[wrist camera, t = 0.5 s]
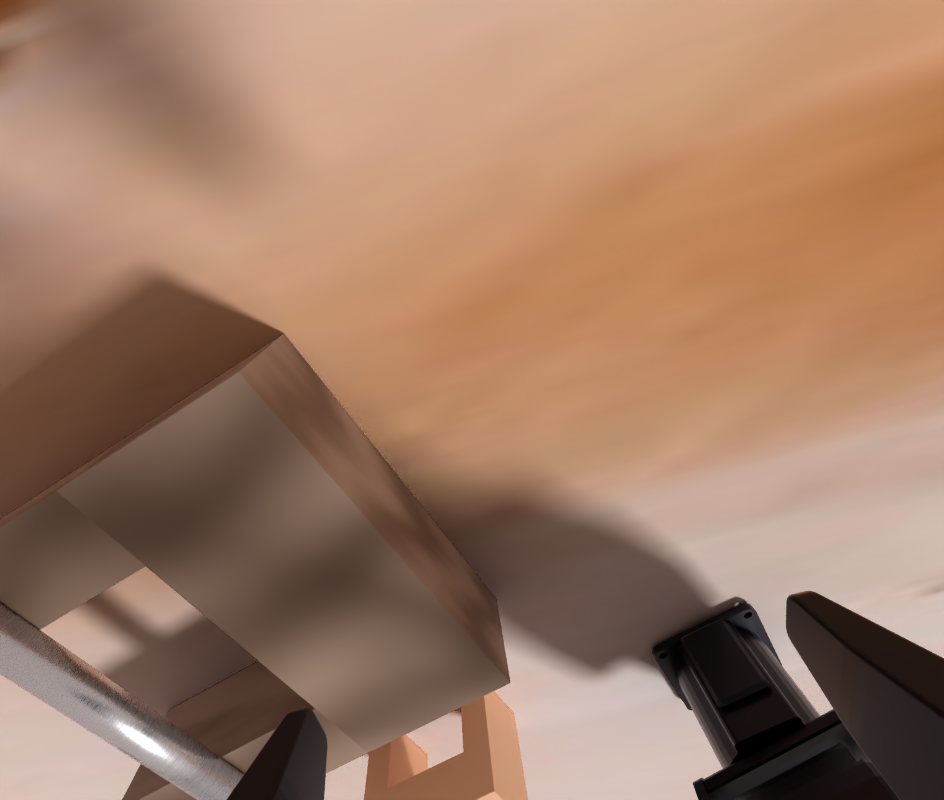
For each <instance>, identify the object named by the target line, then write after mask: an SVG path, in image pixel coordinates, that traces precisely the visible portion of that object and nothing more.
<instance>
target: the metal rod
mask: <svg viewBox="0 0 944 800" xmlns="http://www.w3.org/2000/svg"><path fill="white" fill-rule="evenodd" d="M0 674H1V675H2V676H4V677H5V678H7V679H8V680H10V681H12V682H13V683H15V684H16V685H18V686H19V687H21V688H23V689H24V690H26V691H27V692H29V693H30V694H32V695H34V696H35V697H37V698H38V699H40V700H41V701H43V702H44V703H46V704H48V705H49V706H51V707H52V708H54V709H55V710H57V711H59V712H60V713H62V714H63V715H65V716H66V717H68V718H70V719H71V720H73V721H74V722H76V723H77V724H79V725H81V726H82V727H84V728H85V729H87V730H88V731H90V732H92V733H93V734H95V735H96V736H98V737H99V738H101V739H102V740H104V741H106V742H107V743H109V744H110V745H112V746H113V747H115V748H117V749H118V750H120V751H121V752H123V753H124V754H126V755H128V756H129V757H131V758H132V759H134V760H135V761H137V762H139V763H140V764H142V765H143V766H145V767H146V768H148V769H149V770H151V771H153V772H154V773H156V774H157V775H159V776H160V777H162V778H164V779H165V780H167V781H168V782H170V783H171V784H173V785H175V786H176V787H178V788H179V789H181V790H182V791H184V792H186V793H187V794H189V795H190V796H192V797H193V798H195V799H196V800H226V799H227V798H228V796H229V795H230V794H231V792H232V791H233V789H234V788H235V786H236V785H237V784H238V782H239V781H240V779H241V778H242V776H243V775H244V773H243V772H241V771H240V770H238V769H237V768H235V767H234V766H233V765H231V764H230V763H228V762H227V761H225V760H224V759H223V758H221V757H220V756H219V755H217V754H216V753H214V752H213V751H211V750H210V749H209V748H207V747H206V746H204V745H203V744H201V743H200V742H199V741H197V740H196V739H194V738H193V737H192V736H190V735H189V734H187V733H186V732H184V731H183V730H182V729H180V728H179V727H177V726H176V725H174V724H173V723H172V722H170V721H169V720H167V719H166V718H164V717H163V716H162V715H160V714H159V713H157V712H156V711H154V710H153V709H152V708H150V707H149V706H147V705H146V704H144V703H143V702H142V701H140V700H139V699H137V698H136V697H134V696H133V695H132V694H130V693H129V692H127V691H126V690H125V689H123V688H122V687H120V686H119V685H117V684H116V683H115V682H113V681H112V680H110V679H109V678H107V677H106V676H105V675H103V674H102V673H100V672H99V671H97V670H96V669H95V668H93V667H92V666H90V665H89V664H87V663H86V662H85V661H83V660H82V659H80V658H79V657H77V656H76V655H75V654H73V653H72V652H70V651H69V650H67V649H66V648H65V647H63V646H62V645H60V644H59V643H58V642H56V641H55V640H53V639H52V638H50V637H49V636H48V635H46V634H45V633H43V632H42V631H40V630H39V629H37V628H36V627H34V626H33V625H31V624H30V623H29V622H27V621H26V620H24V619H23V618H21V617H20V616H19V615H17V614H16V613H14V612H13V611H12V610H10V609H9V608H7V607H6V606H4V605H3V604H2V603H0Z"/></svg>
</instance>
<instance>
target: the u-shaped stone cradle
mask: <svg viewBox="0 0 944 800" xmlns="http://www.w3.org/2000/svg"><path fill="white" fill-rule="evenodd" d="M145 566H146V567H147V568H149V569H150V570H151V571H152V572H153V573H155V574H156V575H157V576H158V577H159V578H160V579H162V580H163V581H164V582H165V583H166V584H168V585H169V586H170V587H171V588H172V589H174V590H175V591H176V592H177V593H178V594H180V595H181V596H182V597H183V598H184V599H185V600H187V601H188V602H189V603H190V604H191V605H193V606H194V607H195V608H196V609H197V610H199V611H200V612H201V613H202V614H203V615H204V616H206V617H207V618H208V619H209V620H210V621H212V622H213V623H214V624H215V625H216V626H218V627H219V628H220V629H221V630H222V631H224V632H225V633H226V634H227V635H228V636H229V637H231V638H232V639H233V640H234V641H235V642H237V643H238V644H239V645H240V646H241V647H243V648H244V649H245V650H246V651H247V652H248V653H250V654H251V655H252V656H253V657H254V658H256V659H257V660H258V662H256V663H254V664H253V665H251V666H249V667H247V668H245V669H243V670H242V671H240V672H238V673H236V674H234V675H232V676H231V677H229V678H227V679H225V680H223V681H221V682H220V683H218V684H216V685H214V686H212V687H210V688H208V689H207V690H205V691H203V692H201V693H199V694H197V695H196V696H194V697H192V698H190V699H188V700H186V701H185V702H183V703H181V704H179V705H177V706H175V707H174V708H172V709H170V710H169V711H168V713H167V715H166V717H165V718H166V719H167V720H169V721H170V722H172V723H173V724H174V725H176V726H177V727H179V728H180V729H182V730H183V731H184V732H186V733H187V734H189V735H190V736H192V737H193V738H194V739H196V740H197V741H199V742H200V743H201V744H203V745H204V746H206V747H207V748H209V749H210V750H211V751H213V752H214V753H216V754H217V755H219V756H220V757H221V758H223V759H224V760H225V761H227V762H228V763H230V764H231V765H233V766H234V767H235V768H237V769H238V770H240V771H241V772H243V773H244V774H245V772H246V771H247V769H248V768H249V767H250V765H251V764H252V762H253V761H254V759H255V758H256V757H257V755H258V754H259V752H260V751H261V749H262V748H263V747H264V745H265V744H266V742H267V741H268V739H269V738H270V737H271V735H272V734H273V732H274V731H275V729H276V728H277V727H278V725H279V724H280V722H281V721H282V719H283V718H284V717H285V716H286V715H287V714H288V713H289V712H291V711H295V710H299V709H304V708H310V709H312V710H313V712H314V714H315V715H316V717H317V719H318V721H319V723H320V725H321V726H322V728H323V730H324V732H325V734H326V737H327V745H328V749H327V763H326V773H328V772H330V771H332V770H334V769H336V768H338V767H340V766H342V765H344V764H346V763H348V762H350V761H352V760H354V759H356V758H358V757H360V756H362V755H364V754H366V753H368V752H371V751H373V750H375V749H377V748H379V747H381V746H383V745H385V744H387V743H389V742H391V741H393V740H395V739H397V738H399V737H401V736H403V735H405V734H407V733H409V732H411V731H413V730H415V729H417V728H419V727H421V726H423V725H425V724H427V723H430V722H432V721H434V720H436V719H438V718H440V717H442V716H444V715H446V714H448V713H450V712H452V711H454V710H456V709H458V708H460V707H462V706H464V705H466V704H468V703H470V702H472V701H474V700H476V699H478V698H480V697H482V696H484V695H486V694H489V693H491V692H493V691H495V690H497V689H499V688H501V687H503V686H505V685H507V684H509V683H510V677H509V671H508V665H507V659H506V653H505V647H504V641H503V635H502V629H501V623H500V618H499V612H498V606H497V600H496V598H495V597H494V596H493V594H492V593H491V592H490V591H489V589H488V588H487V587H486V586H485V584H484V583H483V582H482V581H481V579H480V578H479V577H478V576H477V574H476V573H475V572H474V571H473V569H472V568H471V567H470V566H469V564H468V563H467V562H466V561H465V559H464V558H463V557H462V556H461V554H460V553H459V552H458V551H457V549H456V548H455V547H454V546H453V544H452V543H451V542H450V541H449V539H448V538H447V537H446V536H445V534H444V533H443V532H442V531H441V529H440V528H439V527H438V526H437V524H436V523H435V522H434V521H433V519H432V518H431V517H430V516H429V514H428V513H427V512H426V511H425V509H424V508H423V507H422V506H421V504H420V503H419V502H418V501H417V499H416V498H415V497H414V496H413V494H412V493H411V492H410V491H409V489H408V488H407V487H406V486H405V484H404V483H403V482H402V481H401V479H400V478H399V477H398V476H397V474H396V473H395V472H394V471H393V469H392V468H391V467H390V466H389V464H388V463H387V462H386V461H385V459H384V458H383V457H382V456H381V454H380V453H379V452H378V451H377V449H376V448H375V447H374V446H373V444H372V443H371V442H370V441H369V439H368V438H367V437H366V436H365V434H364V433H363V432H362V431H361V429H360V428H359V427H358V426H357V424H356V423H355V422H354V421H353V419H352V418H351V417H350V416H349V414H348V413H347V412H346V411H345V409H344V408H343V407H342V406H341V404H340V403H339V402H338V401H337V399H336V398H335V397H334V396H333V394H332V393H331V392H330V391H329V389H328V388H327V387H326V386H325V384H324V383H323V382H322V381H321V379H320V378H319V377H318V376H317V374H316V373H315V372H314V371H313V369H312V368H311V367H310V366H309V364H308V363H307V362H306V361H305V359H304V358H303V357H302V356H301V354H300V353H299V352H298V351H297V349H296V348H295V347H294V346H293V344H292V343H291V342H290V341H289V339H288V338H287V337H286V336H285V334H282V335H281V336H279V337H278V338H276V339H275V340H273V341H272V342H270V343H269V344H267V345H266V346H264V347H263V348H261V349H259V350H258V351H256V352H255V353H253V354H252V355H250V356H249V357H247V358H246V359H244V360H243V361H241V362H240V363H238V364H237V365H235V366H234V367H232V368H230V369H229V370H227V371H226V372H224V373H223V374H221V375H220V376H218V377H217V378H215V379H214V380H212V381H211V382H209V383H208V384H206V385H205V386H203V387H201V388H200V389H198V390H197V391H195V392H194V393H192V394H191V395H189V396H188V397H186V398H185V399H183V400H182V401H180V402H179V403H177V404H176V405H174V406H172V407H171V408H169V409H168V410H166V411H165V412H163V413H162V414H160V415H159V416H157V417H156V418H154V419H153V420H151V421H150V422H148V423H147V424H145V425H143V426H142V427H140V428H139V429H137V430H136V431H134V432H133V433H131V434H130V435H128V436H127V437H125V438H124V439H122V440H121V441H119V442H118V443H116V444H114V445H113V446H111V447H110V448H108V449H107V450H105V451H104V452H102V453H101V454H99V455H98V456H96V457H95V458H93V459H92V460H90V461H89V462H87V463H85V464H84V465H82V466H81V467H79V468H78V469H76V470H75V471H73V472H72V473H70V474H69V475H67V476H66V477H64V478H63V479H61V480H60V481H58V482H56V483H55V484H53V485H52V486H50V487H49V488H47V489H46V490H44V491H43V492H41V493H40V494H38V495H37V496H35V497H34V498H32V499H31V500H29V501H27V502H26V503H24V504H23V505H21V506H20V507H18V508H17V509H15V510H14V511H12V512H11V513H9V514H8V515H6V516H5V517H3V518H2V519H0V603H2V604H3V605H4V606H6V607H7V608H9V609H10V610H12V611H13V612H14V613H16V614H17V615H19V616H20V617H21V618H23V619H24V620H26V621H27V622H29V623H30V624H31V625H33V626H34V627H36V628H37V629H39V630H40V629H42V628H43V627H45V626H47V625H48V624H50V623H52V622H53V621H55V620H57V619H58V618H60V617H62V616H63V615H65V614H67V613H68V612H70V611H72V610H73V609H75V608H77V607H78V606H80V605H82V604H83V603H85V602H87V601H88V600H90V599H91V598H93V597H95V596H96V595H98V594H100V593H101V592H103V591H105V590H106V589H108V588H110V587H111V586H113V585H115V584H116V583H118V582H120V581H121V580H123V579H125V578H126V577H128V576H130V575H131V574H133V573H135V572H136V571H138V570H140V569H141V568H143V567H145ZM122 800H196V799H195V798H193V797H192V796H190V795H189V794H187V793H186V792H184V791H182V790H181V789H179V788H178V787H176V786H175V785H173V784H171V783H170V782H168V781H167V780H165V779H164V778H162V777H160V776H159V775H157V774H156V773H154V772H153V771H151V770H149V769H148V768H146V767H145V766H143V765H142V764H141V765H140V767H139V769H138V771H137V772H136V774H135V776H134V778H133V780H132V782H131V784H130V786H129V788H128V790H127V792H126V794H125V795H124V797H123V799H122Z"/></svg>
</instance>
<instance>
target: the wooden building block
mask: <svg viewBox="0 0 944 800" xmlns="http://www.w3.org/2000/svg"><path fill="white" fill-rule="evenodd" d="M461 716H462V733H463V749H464V752H463V753H461V754H459V755H457V756H455V757H453V758H450V759H448V760H446V761H444V762H442V763H440V764H438V765H436V766H434V767H432V768H429V769H427V754H426V753H425V752H424V751H423V750H422V749H420V748H419V747H418V746H417V745H416V744H415V743H414V742H413V741H412V740H411V739H409V738H408V737H407V736H406V735H403V736H401V737H399V738H397V739H395V740H393V741H391V742H389V743H387V744H385V745H383V746H381V747H379V748H377V749H375V750H373V751H371V752H369V760H368V769H367V778H366V786H365V795H364V800H528V797H527V791H526V785H525V778H524V772H523V766H522V760H521V754H520V748H519V742H518V736H517V730H516V723H515V717H514V713H513V712H512V711H511V710H510V708H509V707H508V706H507V705H506V704H505V703H504V702H503V701H502V700H501V699H500V697H499V696H498V695H497V694H496V693H495V692H494V691H493V692H491V693H489V694H486V695H484V696H482V697H480V698H478V699H476V700H474V701H472V702H470V703H468V704H466V705H464V706H462V707H461Z"/></svg>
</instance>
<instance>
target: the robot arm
mask: <svg viewBox="0 0 944 800" xmlns="http://www.w3.org/2000/svg"><path fill="white" fill-rule="evenodd" d="M786 630H787V633H788V636H789V638H790V640H791V642H792V644H793V645H794V647H795V648H796V650H797V651H798V653H799V655H800V656H801V658H802V659H803V661H804V663H805V664H806V666H807V667H808V669H809V671H810V672H811V674H812V675H813V677H814V678H815V680H816V682H817V683H818V685H819V686H820V688H821V690H822V691H823V693H824V694H825V696H826V698H827V699H828V701H829V702H830V704H831V705H832V707H833V710H831V711H829V712H827V713H825V714H823V715H822V716H820V715H819V714H818V712H817V711H816V710H815V708H814V707H813V706H812V704H811V703H810V702H809V701H808V699H807V698H806V697H805V695H804V694H803V693H802V691H801V690H800V689H799V687H798V686H797V685H796V684H795V682H794V681H793V680H792V678H791V677H790V676H789V674H788V673H787V672H786V671H785V669H784V668H783V667H782V664H781V662H780V660H779V658H778V656H777V654H776V652H775V650H774V648H773V645H772V643H771V641H770V639H769V637H768V635H767V633H766V631H765V629H764V627H763V625H762V623H761V621H760V619H759V616H758V614H757V612H756V611H755V610H754V608H753V607H752V606H751V605H750V604H742V605H740V606H738V607H736V608H733V609H731V610H729V611H727V612H725V613H723V614H721V615H719V616H717V617H715V618H713V619H711V620H709V621H706V622H704V623H702V624H700V625H698V626H696V627H694V628H692V629H690V630H688V631H686V632H684V633H681V634H679V635H677V636H675V637H673V638H671V639H669V640H667V641H665V642H663V643H661V644H659V645H657V646H655V647H654V648H653V650H652V653H653V655H654V657H655V659H656V661H657V662H658V664H659V665H660V667H661V668H662V670H663V671H664V673H665V675H666V676H667V678H668V679H669V681H670V682H671V684H672V685H673V687H674V688H675V690H676V691H677V693H678V695H679V696H680V698H681V699H682V701H683V702H684V704H685V705H686V707H687V708H688V709H689V710H693V712H694V714H695V716H696V718H697V720H698V721H699V723H700V725H701V727H702V729H703V731H704V733H705V735H706V737H707V739H708V741H709V743H710V745H711V746H712V748H713V750H714V752H715V754H716V756H717V758H718V760H719V762H720V764H721V766H722V768H723V769H722V770H720V771H718V772H716V773H714V774H712V775H711V776H709V777H707V778H705V779H703V778H700V779H698V780H697V781H695V782H693V785H694V788H695V791H696V794H697V797H698V799H699V800H944V658H942V657H940V656H938V655H936V654H934V653H932V652H930V651H929V650H927V649H925V648H923V647H921V646H919V645H917V644H915V643H913V642H911V641H909V640H907V639H905V638H903V637H901V636H899V635H897V634H895V633H894V632H892V631H890V630H888V629H886V628H884V627H882V626H880V625H878V624H876V623H874V622H872V621H870V620H868V619H866V618H864V617H862V616H861V615H859V614H857V613H855V612H853V611H851V610H849V609H847V608H845V607H843V606H841V605H839V604H837V603H835V602H833V601H831V600H829V599H827V598H826V597H824V596H822V595H820V594H818V593H815V592H812V591H805V592H801V593H796V594H792V595H790V596H789V597H788V598H787V604H786ZM327 749H328V745H327V737H326V734H325V732H324V730H323V728H322V726H321V725H320V723H319V721H318V719H317V717H316V715H315V714H314V712H313V710H312V709H310V708H304V709H299V710H295V711H291V712H289V713H288V714H287V715H286V716H285V717H284V718H283V719H282V721H281V722H280V724H279V725H278V727H277V728H276V729H275V731H274V732H273V734H272V735H271V737H270V738H269V739H268V741H267V742H266V744H265V745H264V747H263V748H262V749H261V751H260V752H259V754H258V755H257V757H256V758H255V759H254V761H253V762H252V764H251V765H250V767H249V768H248V769H247V771H246V772H245V774H244V775H243V776H242V778H241V779H240V781H239V782H238V784H237V785H236V786H235V788H234V789H233V791H232V792H231V794H230V795H229V796H228V798H227V799H226V800H324V791H325V777H326V763H327Z"/></svg>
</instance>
